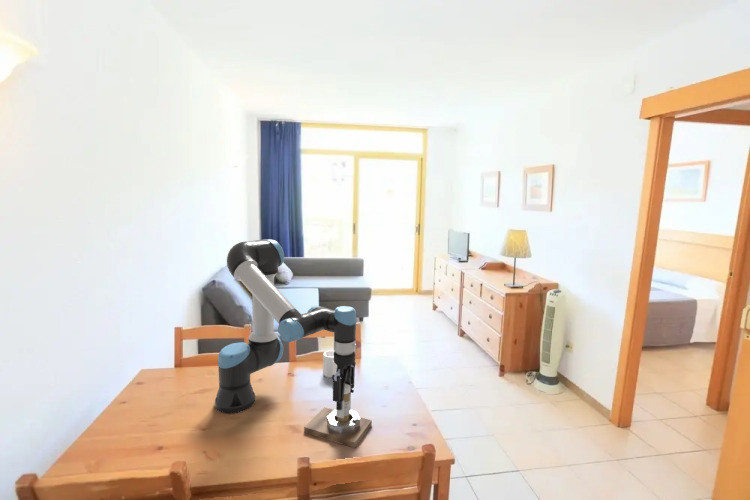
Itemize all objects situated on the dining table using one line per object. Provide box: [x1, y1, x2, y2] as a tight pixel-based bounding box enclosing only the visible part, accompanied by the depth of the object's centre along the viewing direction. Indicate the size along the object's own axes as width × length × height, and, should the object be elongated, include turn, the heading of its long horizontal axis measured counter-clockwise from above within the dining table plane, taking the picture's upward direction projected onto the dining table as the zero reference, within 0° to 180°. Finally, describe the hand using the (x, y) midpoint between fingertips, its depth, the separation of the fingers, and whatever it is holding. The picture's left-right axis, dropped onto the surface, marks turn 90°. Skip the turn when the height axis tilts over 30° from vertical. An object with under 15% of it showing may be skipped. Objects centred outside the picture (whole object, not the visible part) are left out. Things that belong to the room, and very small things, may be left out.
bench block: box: [303, 407, 373, 449], centre depth 139 cm, size 20×14×2 cm
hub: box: [327, 409, 361, 435], centre depth 137 cm, size 11×11×4 cm
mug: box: [322, 349, 337, 379], centre depth 178 cm, size 12×9×10 cm
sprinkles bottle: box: [337, 384, 350, 423], centre depth 137 cm, size 5×5×13 cm
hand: (343, 413), depth 137 cm, fingers closed on sprinkles bottle, 4 cm apart
